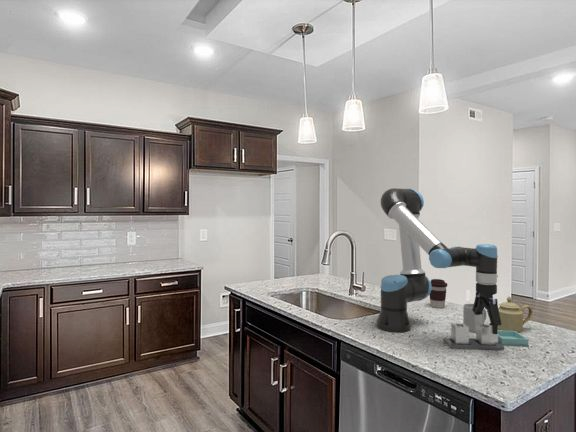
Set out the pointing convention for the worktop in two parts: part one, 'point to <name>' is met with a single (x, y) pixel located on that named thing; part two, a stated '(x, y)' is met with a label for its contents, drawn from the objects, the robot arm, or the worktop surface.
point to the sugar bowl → (512, 316)
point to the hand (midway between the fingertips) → (485, 335)
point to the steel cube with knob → (483, 335)
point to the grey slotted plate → (472, 345)
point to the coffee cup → (438, 293)
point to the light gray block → (459, 334)
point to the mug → (471, 317)
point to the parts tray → (511, 338)
